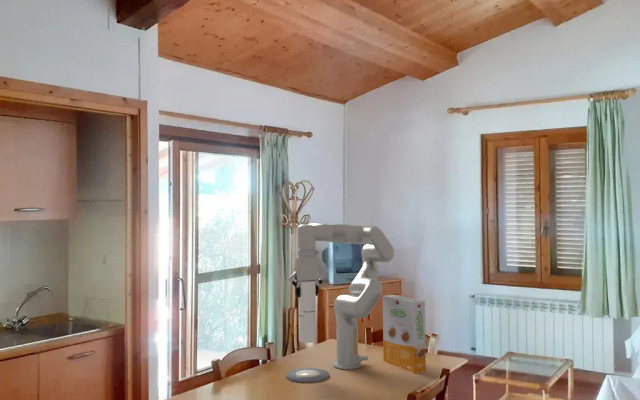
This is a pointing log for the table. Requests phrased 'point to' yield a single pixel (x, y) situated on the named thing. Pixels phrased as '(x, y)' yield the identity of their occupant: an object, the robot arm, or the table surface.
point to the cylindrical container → (307, 312)
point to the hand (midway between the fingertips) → (307, 295)
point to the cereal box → (404, 332)
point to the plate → (307, 375)
